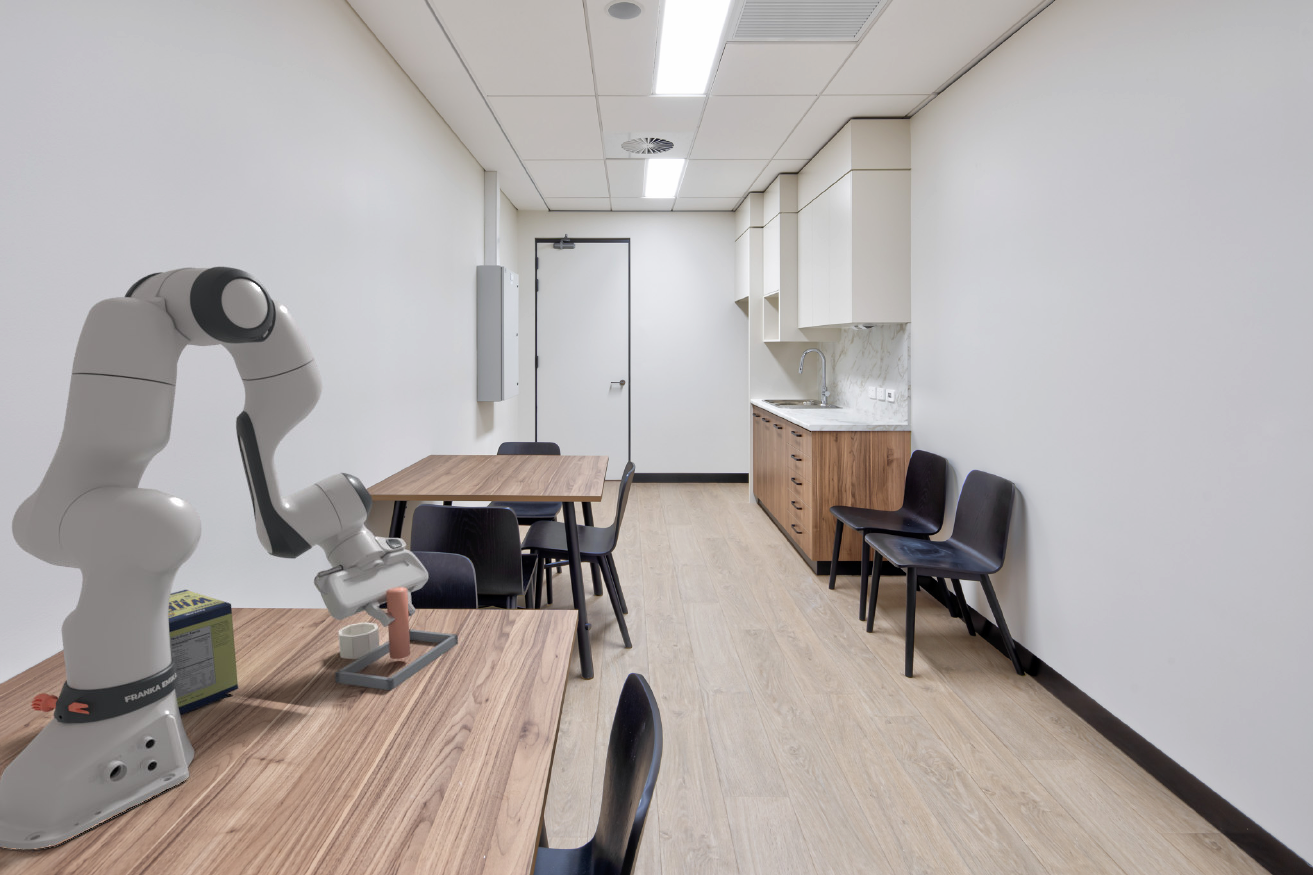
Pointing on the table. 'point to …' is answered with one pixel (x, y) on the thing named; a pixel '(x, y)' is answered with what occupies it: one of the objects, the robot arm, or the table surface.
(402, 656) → the sausage
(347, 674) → the tray
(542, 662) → the table surface
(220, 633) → the protein box
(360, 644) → the cup
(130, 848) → the table surface
